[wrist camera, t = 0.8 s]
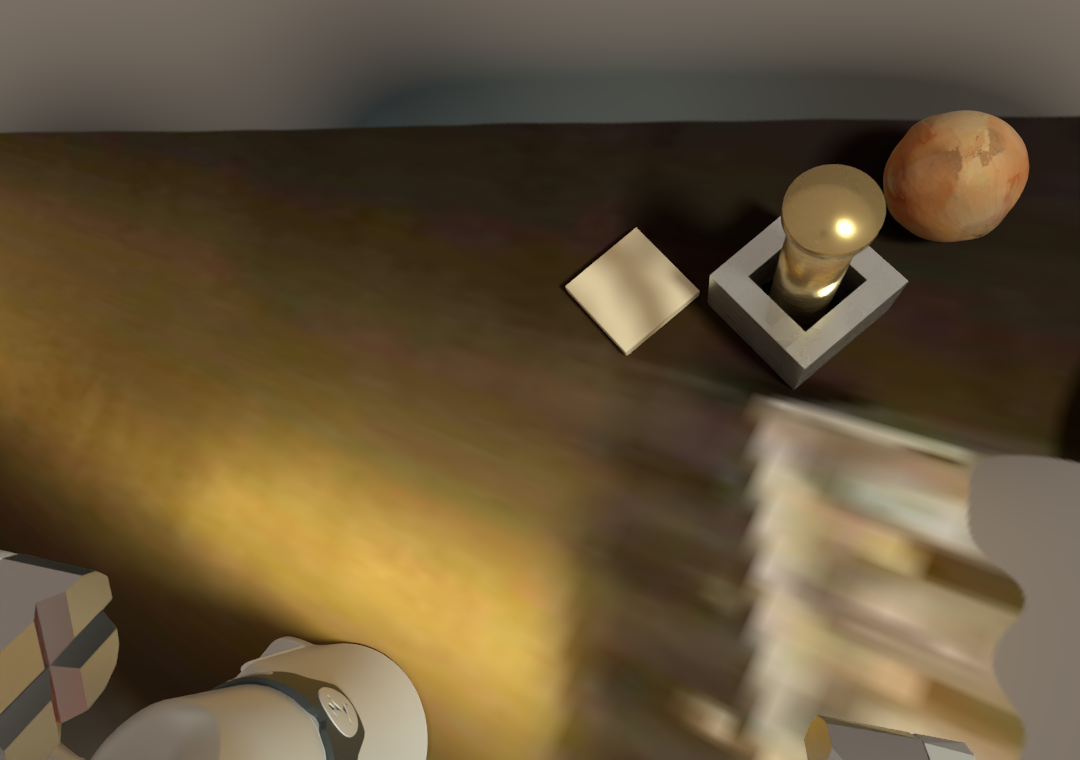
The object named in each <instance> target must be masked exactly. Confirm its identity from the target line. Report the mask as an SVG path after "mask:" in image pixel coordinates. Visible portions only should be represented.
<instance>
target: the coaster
mask: <svg viewBox="0 0 1080 760" xmlns="http://www.w3.org/2000/svg"><path fill="white" fill-rule="evenodd" d="M565 287H566V290H567V291H568V293H569V294H570V295H571V296H572V297H573V298H574V299H575V300H576V301H577V302H578V303H579V305H580V306H581V307H582V308H583V309H584V310H585V311H586V312H587V313H588V314H589V315H590V317H591V318H592V319H593V320H594V321H595V322H596V323H597V324H598V325H599V326H600V328H601V329H602V330H603V331H604V332H605V333H606V334H607V335H608V336H609V337H610V338H611V340H612V341H613V342H614V343H615V344H616V345H617V346H618V347H619V348H620V349H621V350H622V352H623V353H624V354H625V355H626V356H627V355H629V354H630V353H631V352H632V351H633V350H635V349H636V348H637V347H638V346H639V345H641V344H642V343H643V342H644V341H645V340H647V339H648V338H649V337H650V336H651V335H653V334H654V333H655V332H656V331H657V330H659V329H660V328H661V327H662V326H663V325H664V324H666V323H667V322H668V321H669V320H670V319H672V318H673V317H674V316H675V315H676V314H678V313H679V312H680V311H681V310H682V309H684V308H685V307H686V306H687V305H688V304H690V303H691V302H692V301H693V300H694V299H696V298H697V297H698V296H699V292H700V291H699V290H698V289H697V288H696V287H695V286H694V285H693V284H692V283H691V282H690V281H689V280H688V279H687V278H686V277H685V276H684V275H683V274H682V273H681V272H680V271H679V270H678V269H677V268H676V267H675V266H674V265H673V264H672V263H671V262H670V261H669V260H668V259H667V258H666V257H665V256H664V255H663V254H662V253H661V252H660V251H659V250H658V249H657V248H656V247H655V246H654V245H653V244H652V243H651V242H650V241H649V240H648V239H647V238H646V237H645V236H644V235H643V234H642V233H641V232H640V231H639V230H638V229H637V227H636V228H635V229H634V230H632V231H631V232H630V233H629V234H628V235H626V236H625V237H624V238H623V239H622V240H620V241H619V242H618V243H617V244H615V245H614V246H613V247H612V248H611V249H609V250H608V251H607V252H606V253H605V254H603V255H602V256H601V257H600V258H599V259H597V260H596V261H595V262H594V263H593V264H591V265H590V266H589V267H588V268H587V269H585V270H584V271H583V272H582V273H581V274H579V275H578V276H577V277H576V278H574V279H573V280H572V281H571V282H570V283H568V284H567V285H566V286H565Z"/></svg>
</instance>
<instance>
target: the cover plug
mask: <svg viewBox="0 0 1080 760" xmlns="http://www.w3.org/2000/svg"><path fill="white" fill-rule="evenodd" d="M885 215H886V202H885V198H884V195H883V193H882V191H881V189H880V187H879V186H878V184H877V183H876V182H875V181H874V180H873V179H872V178H871V177H870V176H869V175H867V174H866V173H864V172H862V171H861V170H859V169H856V168H854V167H850V166H846V165H840V164H828V165H822V166H818V167H815V168H812V169H810V170H808V171H806V172H804V173H803V174H801V175H800V176H799V177H797V178H796V179H795V180H794V181H793V183H792V184H791V185H790V186H789V188H788V190H787V192H786V194H785V197H784V201H783V205H782V208H781V224H782V228H783V230H784V233H785V235H786V236H785V240H784V243H783V247H782V250H781V254H780V257H779V261H778V265H777V268H776V272H775V275H774V279H773V282H772V286H771V289H770V293H769V297H770V298H771V299H772V300H773V301H774V302H775V303H776V304H777V305H778V306H779V307H780V308H781V309H782V310H783V311H784V312H785V313H786V314H787V315H788V316H789V317H790V318H791V319H792V320H794V321H795V322H796V323H797V324H798V325H799V326H800V327H801V328H802V329H803V330H804V331H805V332H806V331H807V330H809V329H810V328H811V327H812V326H813V325H815V324H816V323H817V322H818V321H819V320H820V319H822V318H823V317H824V315H825V313H826V311H827V309H828V307H829V305H830V303H831V301H832V299H833V297H834V295H835V293H836V290H837V288H838V286H839V284H840V282H841V280H842V278H843V276H844V274H845V272H846V270H847V268H848V266H849V264H850V262H851V260H852V258H853V256H854V255H856V254H858V253H860V252H862V251H863V250H865V249H866V248H867V247H868V246H869V245H870V244H871V243H872V242H873V241H874V239H875V238H876V236H877V235H878V233H879V231H880V229H881V227H882V225H883V223H884V220H885Z"/></svg>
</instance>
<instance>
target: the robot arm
mask: <svg viewBox="0 0 1080 760" xmlns="http://www.w3.org/2000/svg"><path fill="white" fill-rule="evenodd" d="M111 600H112V594H111V590H110V585H109V580H108V576H106V575H104V574H102V573H100V572H97V571H94V570H90V569H86V568H81V567H77V566H73V565H68V564H64V563H60V562H55V561H51V560H46V559H42V558H38V557H33V556H29V555H25V554H20V553H19V554H16V553H12V552H8V551H3V550H0V760H86V759H84V758H81V757H78V756H77V755H75V754H74V753H73V752H72V751H70V750H69V749H68V748H67V747H65V746H64V745H63V744H62V743H60V733H61V723H63V722H65V721H67V720H69V719H71V718H73V717H75V716H77V715H79V714H81V713H83V712H85V711H87V710H88V709H89V708H90V706H91V705H92V704H93V703H94V702H95V700H96V699H97V698H98V697H99V695H100V694H101V693H102V692H103V691H104V689H105V687H106V685H107V683H108V681H109V679H110V677H111V674H112V672H113V670H114V668H115V666H116V663H117V656H118V649H119V639H118V632H117V627H116V626H115V625H114V624H113V623H112V621H111V620H110V619H109V618H108V617H107V615H106V614H105V613H104V612H103V611H102V610H103V609H104V608H105V607H106V606H107V604H108V603H109V602H110V601H111ZM804 741H805V747H806V752H807V758H808V760H976V758H975V756H974V753H973V752H972V751H971V750H970V748H969V747H968V746H967V745H966V744H965V743H962V742H957V741H952V740H946V739H941V738H936V737H931V736H925V735H920V734H910V733H909V732H904V731H899V730H894V729H888V728H883V727H878V726H873V725H867V724H862V723H857V722H852V721H846V720H841V719H836V718H831V717H825V716H820V715H817V717H816V718H815V719H814V720H813V721H812V722H811V723H810V726H809V728H808V731H807V734H806V736H805V739H804ZM426 755H427V725H426V719H425V714H424V710H423V707H422V704H421V701H420V698H419V696H418V694H417V692H416V690H415V688H414V686H413V684H412V683H411V681H410V680H409V678H408V677H407V675H406V674H405V673H404V672H403V671H402V670H401V668H400V667H399V666H398V665H397V664H395V663H394V662H393V661H392V660H391V659H389V658H388V657H386V656H385V655H383V654H382V653H380V652H378V651H376V650H373V649H371V648H368V647H365V646H361V645H357V644H347V643H339V644H329V645H314V644H312V643H309V642H307V641H304V640H302V639H299V638H295V637H290V636H286V637H282V638H279V639H276V640H275V641H273V642H272V643H271V644H270V646H269V647H268V648H267V649H266V650H265V652H264V653H263V654H262V655H261V656H260V658H258V659H255V660H251V661H249V662H247V663H245V664H244V665H243V666H242V667H241V673H240V674H239V675H238V676H237V677H236V678H233V679H232V680H228V681H227V682H224V683H222V684H220V685H218V686H216V687H214V688H212V689H210V690H209V691H207V692H202V693H197V694H191V695H186V696H181V697H176V698H171V699H166V700H163V701H159V702H156V703H154V704H151V705H149V706H147V707H145V708H144V709H142V710H140V711H139V712H137V713H136V714H134V715H133V716H131V717H130V718H129V719H127V720H126V721H125V722H124V723H123V724H121V725H120V726H119V727H118V728H117V729H116V730H115V731H114V732H113V733H112V734H111V735H110V736H109V737H108V738H107V739H106V740H105V741H104V742H103V743H102V745H101V746H100V747H99V748H98V750H97V751H96V753H95V754H94V755H93V757H92V758H91V760H426Z"/></svg>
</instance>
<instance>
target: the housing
mask: <svg viewBox="0 0 1080 760" xmlns="http://www.w3.org/2000/svg"><path fill="white" fill-rule="evenodd" d="M785 236H786V235H785V233H784V230H783V228H782V224H781V216H780V217H779V218H778V219H776V220H775V221H774V222H773V223H772V224H771V225H769V226H768V227H767V228H766V229H765V230H763V231H762V232H761V233H760V234H759V235H757V236H756V237H755V238H754V239H753V240H751V241H750V242H749V243H748V244H747V245H745V246H744V247H743V248H742V249H741V250H739V251H738V252H737V253H736V254H735V255H733V256H732V257H731V258H730V259H729V260H727V261H726V262H725V263H724V264H723V265H721V266H720V267H719V268H718V269H717V270H716V271H714V272H713V273H712V274H711V275H710V279H709V291H708V305H709V306H710V307H711V308H712V309H713V310H714V311H715V312H716V313H717V314H718V315H719V316H720V317H721V318H722V319H723V320H724V321H725V322H726V323H727V324H728V325H729V326H730V327H731V328H732V329H733V330H734V331H735V332H736V333H737V334H738V335H739V336H740V337H741V338H742V339H743V340H744V341H745V342H746V343H747V344H748V345H749V346H750V347H751V348H752V349H753V350H754V351H755V352H756V353H757V354H758V355H759V356H760V357H761V358H762V359H763V360H764V361H765V362H766V363H767V364H768V365H769V366H770V367H771V368H772V369H773V370H774V371H775V372H776V373H777V374H778V375H779V376H780V377H781V378H782V379H783V380H784V381H785V382H786V383H787V384H788V385H789V386H790V387H791V388H792V389H793V390H794V389H796V388H797V387H798V386H799V385H800V384H801V383H803V382H804V381H805V380H806V379H807V378H809V377H810V376H811V375H812V374H813V373H814V372H816V371H817V370H818V369H819V368H820V367H822V366H823V365H824V364H825V363H826V362H827V361H829V360H830V359H831V358H832V357H833V356H834V355H836V354H837V353H838V352H839V351H840V350H842V349H843V348H844V347H845V346H846V345H847V344H849V343H850V342H851V341H852V340H853V339H855V338H856V337H857V336H858V335H859V334H860V333H862V332H863V331H864V330H865V329H866V328H868V327H869V326H870V325H871V324H872V323H873V322H875V321H876V320H877V319H878V318H879V317H880V316H882V315H883V314H884V313H885V312H886V311H888V309H889V308H890V307H891V305H892V304H893V302H894V301H895V300H896V298H897V297H898V295H899V294H900V293H901V291H902V290H903V288H904V287H905V285H906V284H907V283H908V280H907V279H905V278H904V277H903V276H902V275H901V274H900V273H899V272H898V271H896V270H895V269H894V268H893V267H892V266H891V265H890V264H889V263H887V262H886V261H885V260H884V259H883V258H882V257H881V256H879V255H878V254H877V253H876V252H875V251H874V250H873V249H872V248H870V247H869V246H868V247H867V248H866V249H865V250H863V251H862V252H860V253H858V254H856V255H854V256H853V258H852V260H851V262H850V264H849V266H848V268H847V270H846V272H845V274H844V276H843V278H842V280H841V282H840V284H839V286H838V288H837V290H836V293H835V295H836V296H837V297H838V298H839V299H841V300H842V302H841V303H839V304H838V305H837V306H836V307H835V308H833V309H832V310H831V311H830V312H829V313H828V314H826V315H825V316H824V317H823V318H822V319H820V320H819V321H818V322H817V323H816V324H815V325H813V326H812V327H811V328H810V329H809V330H807V331H806V332H805V331H804V330H803V329H802V328H801V327H800V326H799V325H798V324H797V323H796V322H795V321H794V320H792V319H791V318H790V317H789V316H788V315H787V314H786V313H785V312H784V311H783V310H782V309H781V308H780V307H779V306H778V305H777V304H776V303H775V302H774V301H773V300H772V299H771V298H770V297H769V296H768V295H767V294H766V293H765V292H764V291H763V290H761V289H762V288H763V287H764V286H765V285H767V284H768V283H769V282H770V281H771V280H772V279H774V275H775V272H776V268H777V265H778V261H779V257H780V254H781V250H782V247H783V243H784V240H785Z"/></svg>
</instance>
